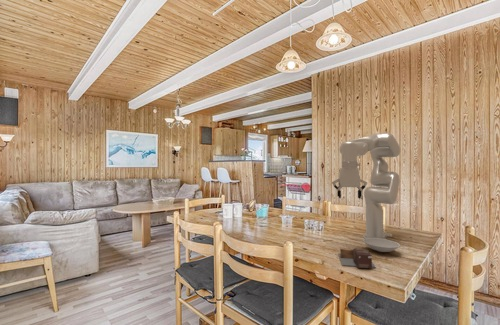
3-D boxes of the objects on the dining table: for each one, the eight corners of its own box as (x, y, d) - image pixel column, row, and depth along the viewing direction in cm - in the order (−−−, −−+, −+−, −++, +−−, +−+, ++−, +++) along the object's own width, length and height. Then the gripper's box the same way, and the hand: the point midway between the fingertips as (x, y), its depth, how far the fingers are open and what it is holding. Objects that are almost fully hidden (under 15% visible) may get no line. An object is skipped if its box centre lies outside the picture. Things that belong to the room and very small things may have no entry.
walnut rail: (368, 258, 121) (368, 250, 121) (369, 259, 120) (369, 251, 120) (340, 256, 124) (340, 248, 124) (340, 257, 123) (340, 249, 123)
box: (352, 261, 118) (357, 268, 111) (352, 248, 118) (357, 254, 111) (366, 261, 118) (372, 268, 110) (366, 249, 117) (372, 255, 110)
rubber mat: (367, 256, 125) (367, 255, 125) (375, 268, 112) (375, 267, 112) (338, 254, 128) (338, 253, 128) (342, 266, 115) (342, 264, 115)
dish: (401, 251, 133) (401, 241, 133) (399, 260, 121) (399, 249, 121) (365, 244, 143) (365, 236, 142) (360, 252, 131) (360, 243, 131)
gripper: (365, 165, 133) (365, 197, 134) (331, 165, 137) (331, 196, 137) (368, 165, 126) (369, 199, 126) (332, 165, 129) (333, 198, 130)
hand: (349, 198), depth 132 cm, fingers open, 9 cm apart
